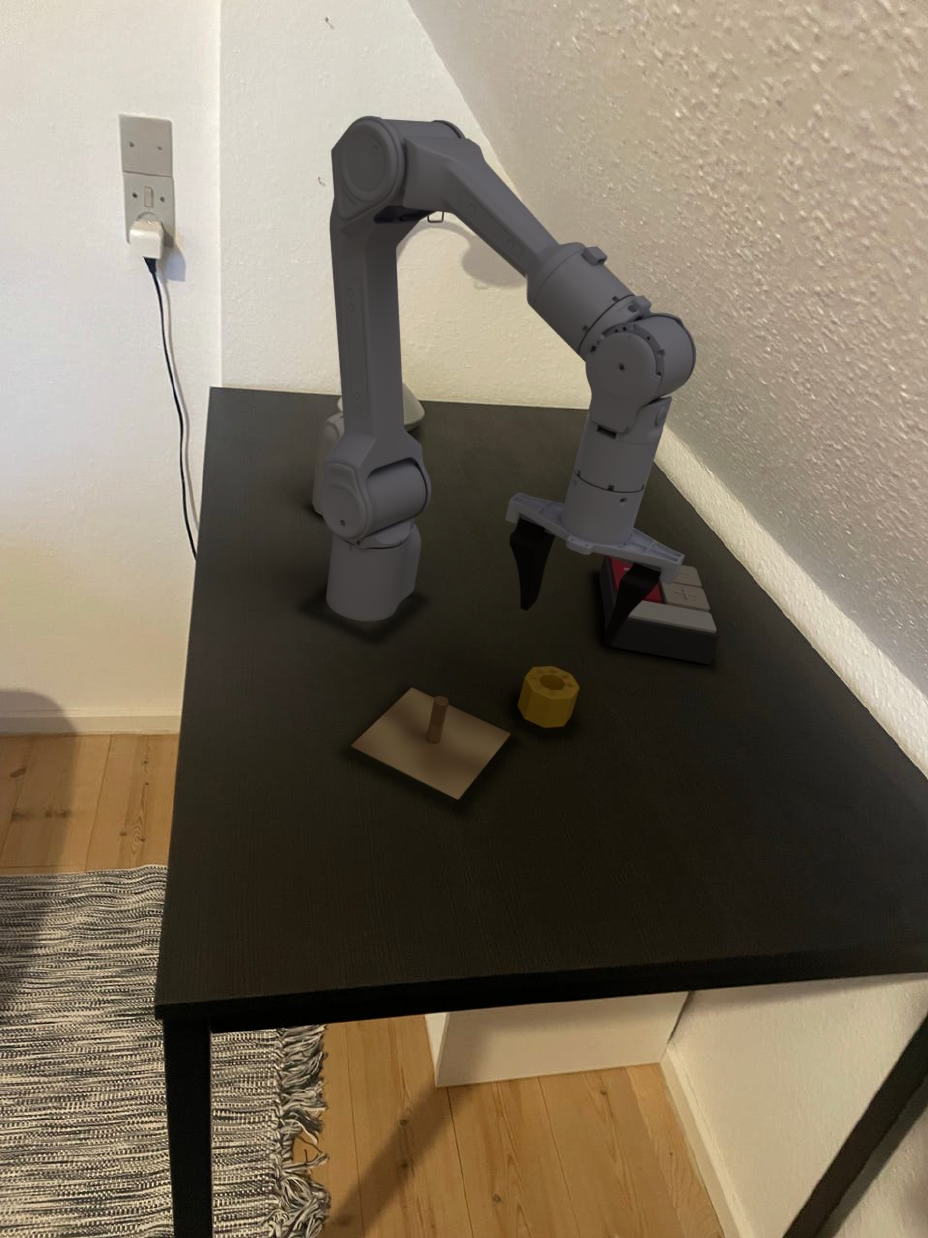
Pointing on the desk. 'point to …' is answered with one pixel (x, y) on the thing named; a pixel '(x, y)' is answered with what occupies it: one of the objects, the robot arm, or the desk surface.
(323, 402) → the desk surface
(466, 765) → the stand
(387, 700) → the desk surface
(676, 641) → the calculator
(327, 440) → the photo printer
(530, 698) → the sleeve
